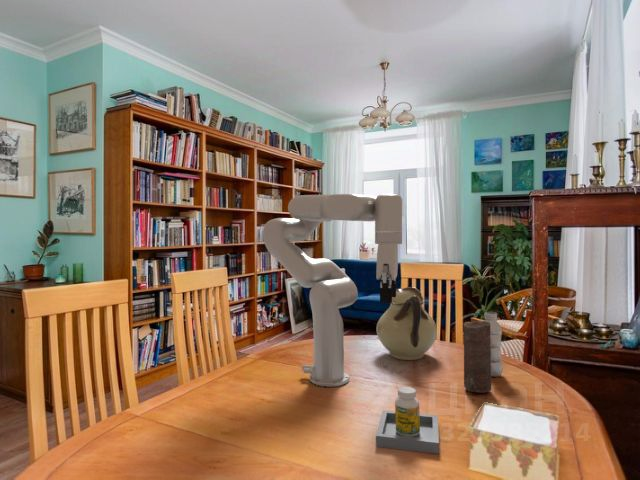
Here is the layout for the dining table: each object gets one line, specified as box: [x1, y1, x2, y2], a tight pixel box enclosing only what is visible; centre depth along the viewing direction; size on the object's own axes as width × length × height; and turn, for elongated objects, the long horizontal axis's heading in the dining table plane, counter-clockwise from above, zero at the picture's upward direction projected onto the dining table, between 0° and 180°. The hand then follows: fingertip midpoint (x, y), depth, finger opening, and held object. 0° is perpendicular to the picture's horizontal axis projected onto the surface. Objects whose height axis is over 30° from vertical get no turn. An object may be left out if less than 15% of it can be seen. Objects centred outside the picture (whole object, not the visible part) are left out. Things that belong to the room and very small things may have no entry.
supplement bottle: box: [394, 386, 421, 437], centre depth 89 cm, size 5×5×10 cm
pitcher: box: [375, 286, 438, 361], centre depth 148 cm, size 22×24×25 cm
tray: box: [375, 409, 440, 455], centre depth 89 cm, size 13×13×2 cm
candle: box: [463, 320, 492, 394], centre depth 113 cm, size 8×7×20 cm
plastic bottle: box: [484, 311, 504, 377], centre depth 126 cm, size 6×7×20 cm
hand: (388, 299), depth 110 cm, fingers open, 9 cm apart
